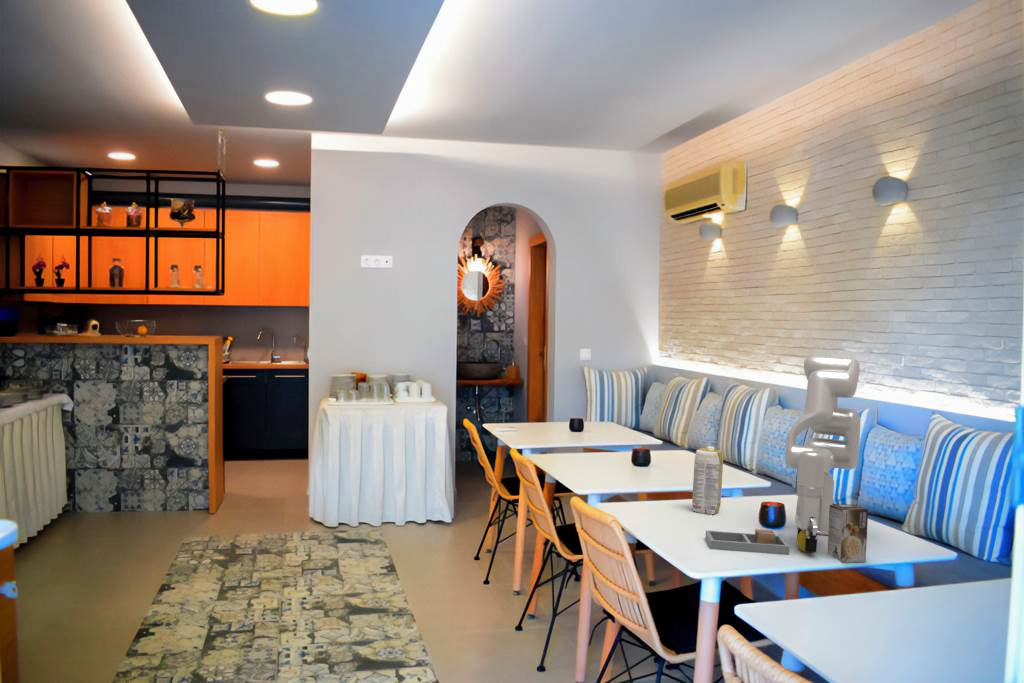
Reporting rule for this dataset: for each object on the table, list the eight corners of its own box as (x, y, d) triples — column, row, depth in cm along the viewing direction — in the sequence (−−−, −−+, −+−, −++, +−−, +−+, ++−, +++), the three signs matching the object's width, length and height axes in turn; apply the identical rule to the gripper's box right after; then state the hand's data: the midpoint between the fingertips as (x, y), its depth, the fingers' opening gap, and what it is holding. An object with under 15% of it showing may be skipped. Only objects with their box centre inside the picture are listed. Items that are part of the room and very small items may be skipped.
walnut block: (754, 544, 253) (755, 528, 253) (770, 545, 252) (771, 530, 252) (757, 549, 248) (758, 533, 248) (774, 550, 247) (775, 534, 247)
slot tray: (705, 541, 258) (705, 530, 258) (779, 546, 256) (780, 535, 255) (710, 552, 246) (711, 540, 246) (788, 558, 244) (789, 546, 243)
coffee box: (851, 555, 249) (855, 503, 249) (866, 562, 243) (869, 508, 243) (826, 556, 247) (829, 504, 246) (839, 563, 241) (843, 509, 240)
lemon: (811, 551, 252) (812, 526, 251) (818, 557, 246) (820, 530, 246) (793, 551, 252) (795, 525, 251) (800, 556, 246) (802, 530, 246)
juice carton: (721, 512, 299) (725, 447, 298) (714, 516, 292) (718, 449, 291) (697, 508, 304) (700, 444, 303) (689, 511, 297) (693, 446, 296)
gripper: (790, 485, 257) (787, 538, 258) (804, 496, 240) (800, 554, 241) (814, 486, 256) (811, 540, 257) (830, 498, 239) (827, 556, 240)
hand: (806, 547), depth 249 cm, fingers open, 9 cm apart
